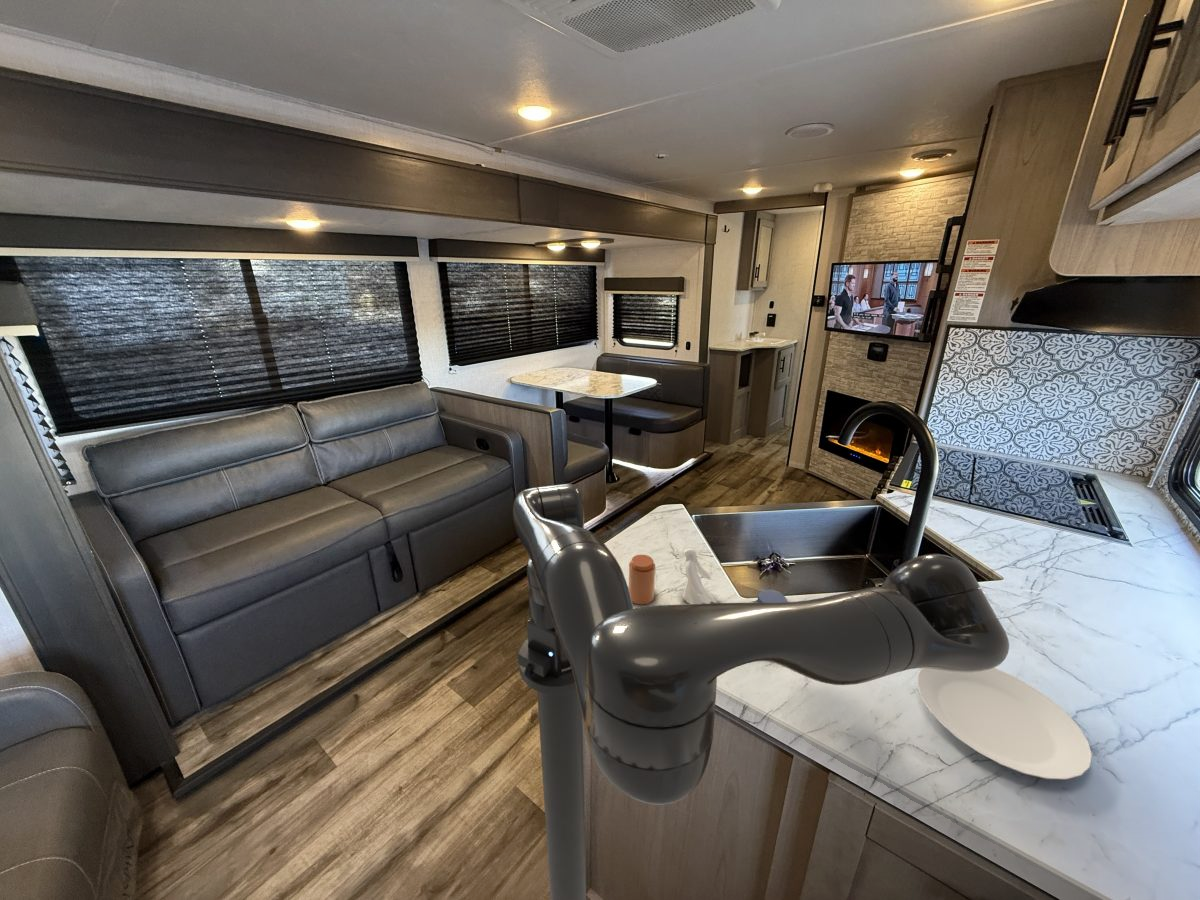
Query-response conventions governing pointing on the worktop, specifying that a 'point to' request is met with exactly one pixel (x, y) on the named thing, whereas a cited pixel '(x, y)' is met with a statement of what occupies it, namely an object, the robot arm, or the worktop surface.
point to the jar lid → (771, 597)
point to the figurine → (695, 580)
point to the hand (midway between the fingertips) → (828, 631)
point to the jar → (641, 579)
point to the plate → (1007, 721)
